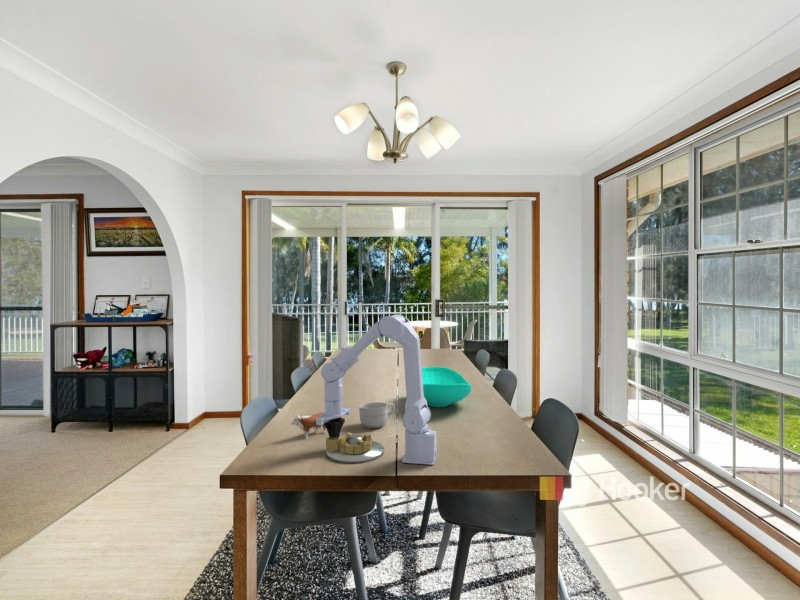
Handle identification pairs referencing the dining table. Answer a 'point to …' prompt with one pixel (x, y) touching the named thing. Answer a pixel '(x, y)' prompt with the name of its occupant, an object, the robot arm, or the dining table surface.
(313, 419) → the bull figurine
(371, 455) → the flange
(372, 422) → the teacup
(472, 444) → the dining table surface
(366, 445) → the ring nut
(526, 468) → the dining table surface
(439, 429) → the dining table surface
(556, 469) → the dining table surface
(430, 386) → the table top decor
